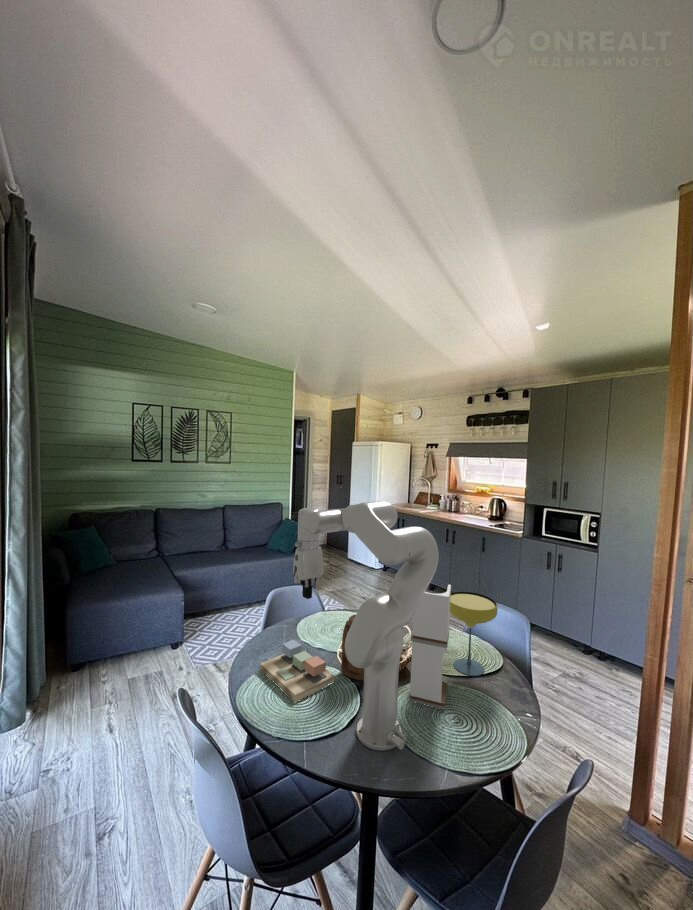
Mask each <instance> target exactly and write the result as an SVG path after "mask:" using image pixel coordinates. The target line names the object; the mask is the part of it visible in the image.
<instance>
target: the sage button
mask: <svg viewBox="0 0 693 910" xmlns="http://www.w3.org/2000/svg"><path fill="white" fill-rule="evenodd" d="M313 657H314V656H312V655H311V654H310V653H309V652H307V651H306V650H303V651H302V652H301V653H298V654H296V655H293V665H295V666H296V667H297V668H298V669H300V670H304V669H305V661H306V660H308V659H310V658H313Z"/></svg>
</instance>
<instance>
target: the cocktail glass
mask: <svg viewBox="0 0 693 910" xmlns="http://www.w3.org/2000/svg"><path fill="white" fill-rule="evenodd" d="M498 608H499V607H498V603H497V602H496V600H494V599H493V598H491V597H489V596H487V595H485V594H481V593H477V592H472V591H471V592H470V591H455V592H451V597H450V615H452V616H453V617H455V618H456V619H458V620H460V621H462V622H464V623H465V625H466V626H467V628H469V633H468V634H469V635H468V639H469V640H468V652H467V653H468V654H467V658H458V659H456V660H454V662H453V666H454V668H455V669H456V671H458V672H459V673H461V674H464V675H465V676H470V677H479V676H481V675H483V674H484V673H485V667H484V666H483V665H482V664H481V663H480V662H478V661H476V660H473V659H472V658H471V656H472V655H471V653H472V652H471V651H472V649H471V648H472V647H471V645H472V629H473V628H474V627H476V626H477V625H478V624H479V625H481V624H485V623H489V622H492V621H493V620H495V618H496V617H497V614H498V610H499V609H498Z"/></svg>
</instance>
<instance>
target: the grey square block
mask: <svg viewBox="0 0 693 910" xmlns="http://www.w3.org/2000/svg"><path fill="white" fill-rule="evenodd" d="M302 649H303V648H302V644H301V643H299V642H298V641H296V640H295V639H291V640H289V641H286V642H284V643H282V648H281V652H282V653H283V654H285V655H287V656H288V657H289V658H291V657H293V655H296V654H298V653H301V651H302Z"/></svg>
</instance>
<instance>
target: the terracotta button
mask: <svg viewBox="0 0 693 910" xmlns="http://www.w3.org/2000/svg"><path fill="white" fill-rule="evenodd" d="M326 667H327V662H326V661H325V660H323V659H322V658H320V657H319V656H318V655H315V656H313V658H310V659H308V660H306V661H305V670H306V671H307V672H308V673H310V674H311V675H312V676H313V677H314V676H316V675H318V674H320V673H322V672H325V671H326V670H327V669H326Z"/></svg>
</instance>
